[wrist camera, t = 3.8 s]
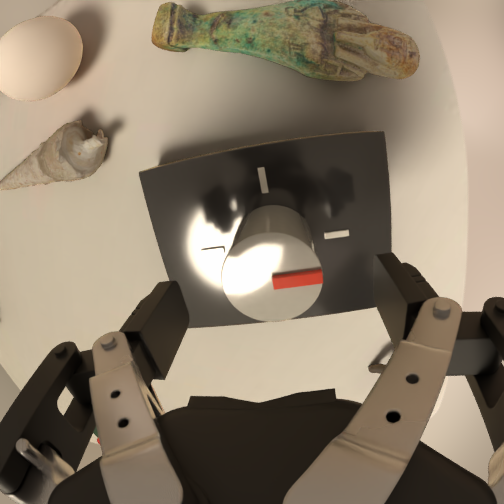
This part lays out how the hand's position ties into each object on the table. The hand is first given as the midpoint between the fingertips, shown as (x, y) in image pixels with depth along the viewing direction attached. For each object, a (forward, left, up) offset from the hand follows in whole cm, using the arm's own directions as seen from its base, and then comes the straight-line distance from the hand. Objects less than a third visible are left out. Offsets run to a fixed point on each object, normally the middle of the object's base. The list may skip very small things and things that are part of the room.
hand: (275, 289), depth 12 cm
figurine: (+3, +12, -9) cm, 15 cm away
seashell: (-17, +8, -9) cm, 21 cm away
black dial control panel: (0, 0, -9) cm, 9 cm away
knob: (0, 0, -6) cm, 6 cm away
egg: (-13, +16, -9) cm, 22 cm away
